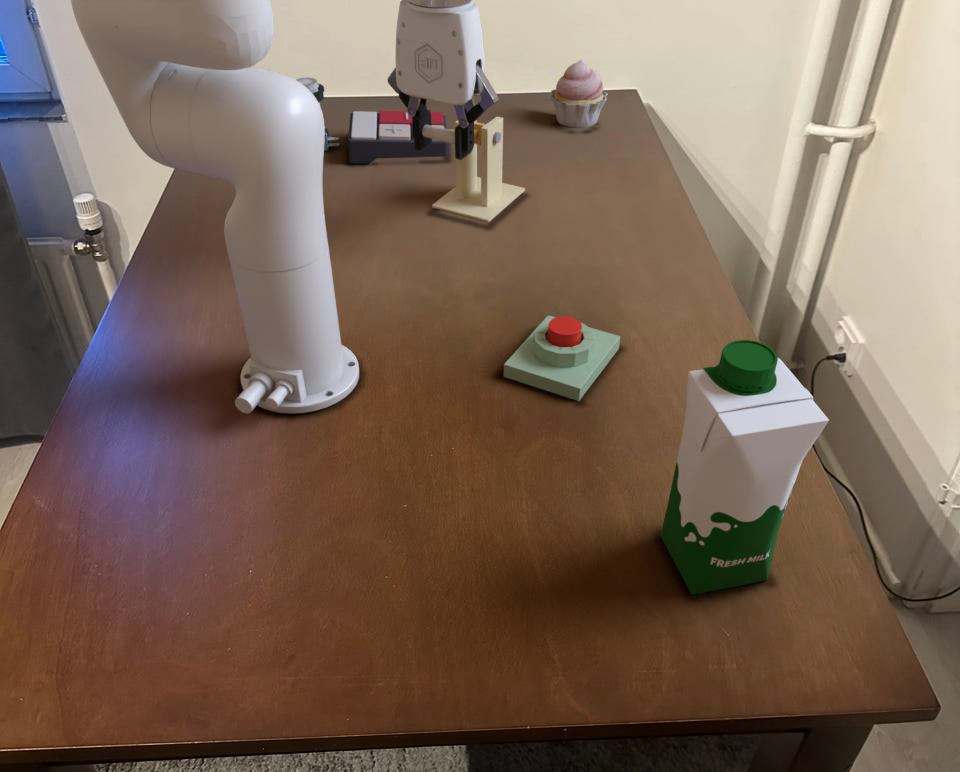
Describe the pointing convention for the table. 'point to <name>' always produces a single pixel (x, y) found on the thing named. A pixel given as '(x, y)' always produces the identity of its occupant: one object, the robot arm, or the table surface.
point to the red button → (564, 331)
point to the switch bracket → (481, 179)
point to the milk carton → (737, 466)
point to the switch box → (562, 361)
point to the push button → (318, 93)
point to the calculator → (389, 136)
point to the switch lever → (450, 133)
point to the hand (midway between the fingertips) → (443, 149)
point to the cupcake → (578, 96)
